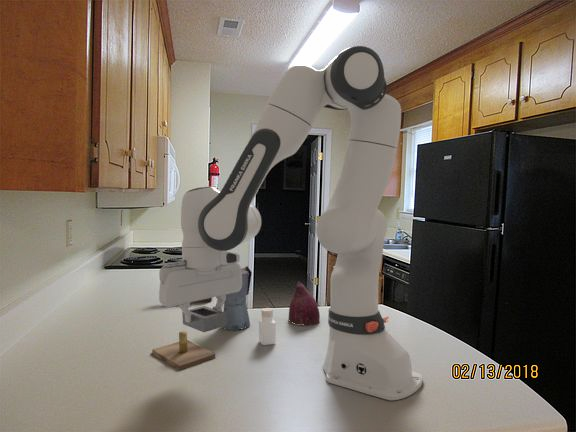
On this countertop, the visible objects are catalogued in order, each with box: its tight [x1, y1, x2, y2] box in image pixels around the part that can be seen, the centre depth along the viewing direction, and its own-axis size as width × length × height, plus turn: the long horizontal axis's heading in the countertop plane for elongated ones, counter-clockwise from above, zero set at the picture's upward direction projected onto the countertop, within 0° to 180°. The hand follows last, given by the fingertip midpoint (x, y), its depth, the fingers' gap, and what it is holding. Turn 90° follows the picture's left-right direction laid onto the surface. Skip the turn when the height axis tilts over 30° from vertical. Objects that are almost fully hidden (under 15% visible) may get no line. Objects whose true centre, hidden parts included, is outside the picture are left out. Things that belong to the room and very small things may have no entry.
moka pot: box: [222, 265, 252, 331], centre depth 121 cm, size 10×15×20 cm, turn 152°
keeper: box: [151, 330, 216, 371], centre depth 98 cm, size 14×10×6 cm
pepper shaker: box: [258, 307, 277, 346], centre depth 106 cm, size 4×4×10 cm
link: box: [181, 305, 227, 333], centre depth 88 cm, size 9×6×3 cm, turn 45°
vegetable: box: [288, 281, 321, 326], centre depth 125 cm, size 10×10×15 cm
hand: (204, 317), depth 88 cm, fingers closed on link, 6 cm apart
